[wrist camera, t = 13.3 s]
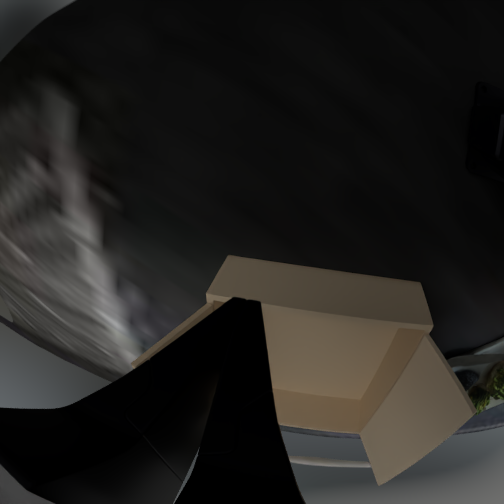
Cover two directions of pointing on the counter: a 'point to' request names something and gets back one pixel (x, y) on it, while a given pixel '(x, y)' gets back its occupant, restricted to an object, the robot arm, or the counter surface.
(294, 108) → the counter surface
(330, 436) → the counter surface
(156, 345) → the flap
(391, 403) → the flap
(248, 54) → the counter surface
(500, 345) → the salad plate
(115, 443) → the robot arm
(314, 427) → the carton
